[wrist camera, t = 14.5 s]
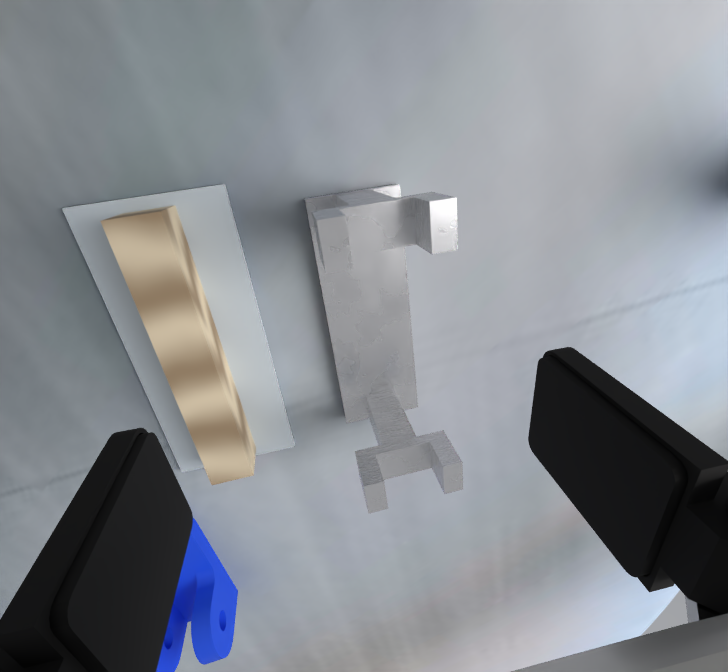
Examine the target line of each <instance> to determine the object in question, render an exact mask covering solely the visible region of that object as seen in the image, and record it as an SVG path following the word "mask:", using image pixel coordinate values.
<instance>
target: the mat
mask: <svg viewBox="0 0 728 672" xmlns="http://www.w3.org/2000/svg"><path fill="white" fill-rule="evenodd" d="M174 205H175V206H176V209H177V212H178V215H179V218H180V221H181V224H182V227H183V230H184V233H185V236H186V239H187V242H188V245H189V248H190V251H191V254H192V257H193V260H194V263H195V266H196V269H197V272H198V275H199V278H200V281H201V284H202V287H203V290H204V293H205V296H206V299H207V302H208V305H209V308H210V311H211V314H212V317H213V320H214V323H215V326H216V329H217V332H218V335H219V338H220V341H221V344H222V347H223V350H224V353H225V356H226V359H227V362H228V365H229V368H230V371H231V374H232V377H233V380H234V383H235V386H236V389H237V392H238V395H239V398H240V401H241V404H242V407H243V410H244V413H245V416H246V419H247V422H248V425H249V428H250V431H251V434H252V437H253V440H254V443H255V446H256V454H255V456H257V455H261V454H265V453H270V452H274V451H278V450H283V449H287V448H291V447H295V442H294V439H293V435H292V431H291V427H290V424H289V420H288V416H287V412H286V409H285V405H284V401H283V398H282V394H281V390H280V386H279V383H278V379H277V375H276V371H275V368H274V364H273V360H272V357H271V353H270V349H269V345H268V342H267V338H266V334H265V330H264V327H263V323H262V319H261V316H260V312H259V308H258V304H257V301H256V297H255V293H254V289H253V286H252V282H251V278H250V275H249V271H248V267H247V263H246V260H245V256H244V252H243V248H242V245H241V241H240V237H239V234H238V230H237V226H236V222H235V219H234V215H233V211H232V207H231V204H230V200H229V196H228V193H227V189H226V185H225V184H221V185H214V186H207V187H200V188H194V189H187V190H180V191H173V192H167V193H160V194H153V195H146V196H140V197H133V198H126V199H119V200H113V201H106V202H99V203H92V204H86V205H79V206H72V207H66V208H62V210H63V212H64V214H65V216H66V219H67V221H68V223H69V225H70V227H71V230H72V232H73V234H74V236H75V238H76V241H77V243H78V245H79V247H80V249H81V252H82V254H83V256H84V258H85V260H86V263H87V265H88V267H89V269H90V271H91V274H92V276H93V278H94V280H95V282H96V285H97V287H98V289H99V291H100V293H101V296H102V298H103V300H104V302H105V304H106V307H107V309H108V311H109V313H110V315H111V318H112V320H113V322H114V324H115V326H116V329H117V331H118V333H119V335H120V337H121V340H122V342H123V344H124V346H125V348H126V351H127V353H128V355H129V357H130V359H131V362H132V364H133V366H134V368H135V370H136V373H137V375H138V377H139V379H140V382H141V384H142V386H143V388H144V390H145V393H146V395H147V397H148V399H149V401H150V404H151V406H152V408H153V410H154V412H155V415H156V417H157V419H158V421H159V423H160V426H161V428H162V430H163V432H164V434H165V437H166V439H167V441H168V443H169V445H170V448H171V450H172V452H173V454H174V456H175V459H176V461H177V463H178V465H179V467H180V470H181V472H182V473H183V472H188V471H192V470H196V469H201V468H204V465H203V463H202V461H201V458H200V456H199V454H198V451H197V449H196V447H195V444H194V442H193V439H192V437H191V435H190V432H189V430H188V428H187V425H186V423H185V420H184V418H183V416H182V413H181V411H180V409H179V406H178V404H177V402H176V399H175V397H174V394H173V392H172V390H171V387H170V385H169V383H168V380H167V378H166V375H165V373H164V371H163V368H162V366H161V364H160V361H159V359H158V357H157V354H156V352H155V349H154V347H153V345H152V342H151V340H150V338H149V335H148V333H147V330H146V328H145V326H144V323H143V321H142V319H141V316H140V314H139V312H138V309H137V307H136V304H135V302H134V300H133V297H132V295H131V293H130V290H129V288H128V285H127V283H126V281H125V278H124V276H123V274H122V271H121V269H120V267H119V264H118V262H117V259H116V257H115V255H114V252H113V250H112V248H111V245H110V243H109V240H108V238H107V236H106V233H105V231H104V229H103V226H102V224H101V221H102V220H105V219H108V218H110V217H113V216H116V215H119V214H122V213H129V212H135V211H142V210H148V209H154V208H161V207H167V206H174Z"/></svg>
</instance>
